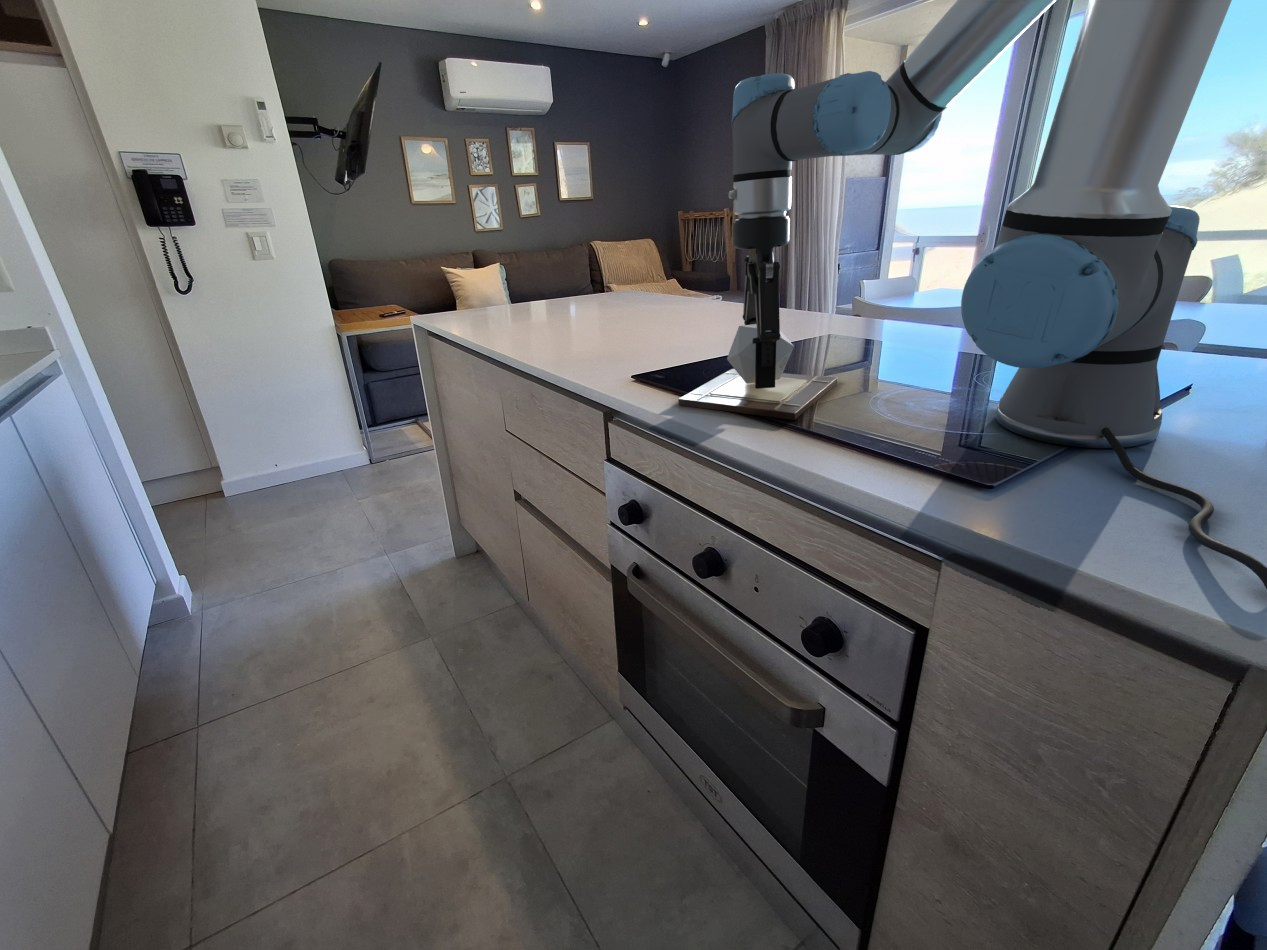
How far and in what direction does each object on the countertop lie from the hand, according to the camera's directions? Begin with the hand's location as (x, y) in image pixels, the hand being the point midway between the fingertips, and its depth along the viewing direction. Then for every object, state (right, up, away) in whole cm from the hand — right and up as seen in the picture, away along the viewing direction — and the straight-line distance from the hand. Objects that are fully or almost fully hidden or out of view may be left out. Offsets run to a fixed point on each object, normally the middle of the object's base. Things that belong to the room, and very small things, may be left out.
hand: (759, 377), depth 86 cm
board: (0, -2, +1) cm, 3 cm away
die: (0, 0, 0) cm, 0 cm away
